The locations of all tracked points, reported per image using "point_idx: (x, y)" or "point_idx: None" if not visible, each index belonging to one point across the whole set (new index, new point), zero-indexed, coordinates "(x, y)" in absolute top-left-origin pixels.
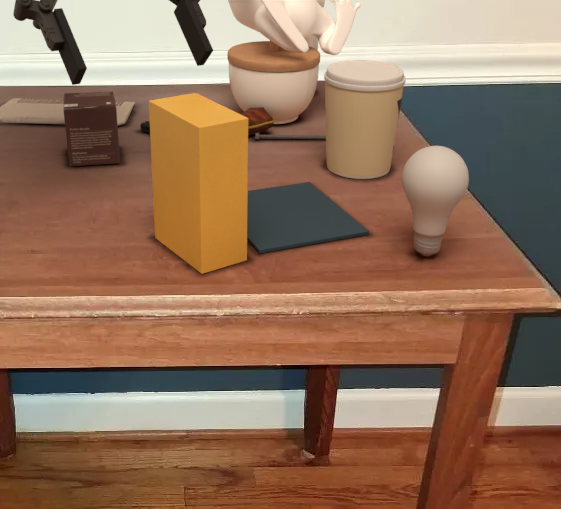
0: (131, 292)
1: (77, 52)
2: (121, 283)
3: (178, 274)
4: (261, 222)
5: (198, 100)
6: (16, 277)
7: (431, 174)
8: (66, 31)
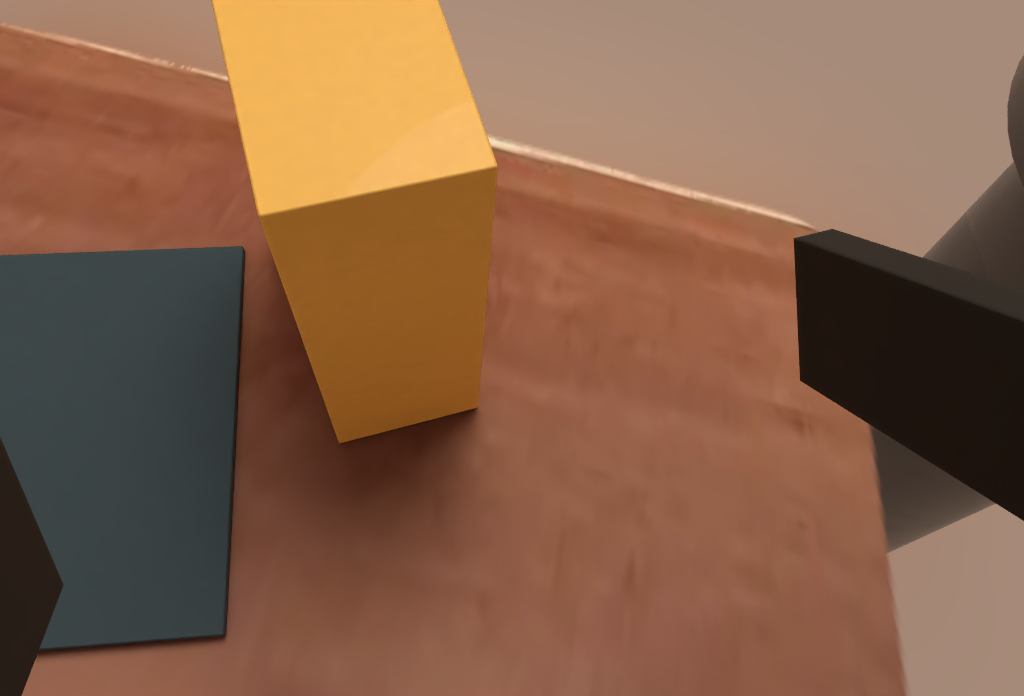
0: (581, 179)
1: (871, 258)
2: (597, 218)
3: None
4: (159, 390)
5: (290, 115)
6: None
7: None
8: (998, 293)
